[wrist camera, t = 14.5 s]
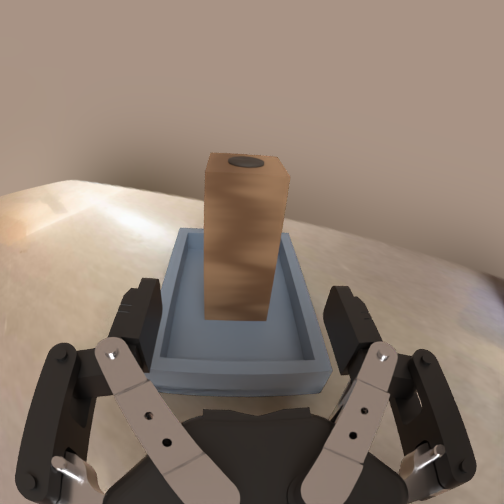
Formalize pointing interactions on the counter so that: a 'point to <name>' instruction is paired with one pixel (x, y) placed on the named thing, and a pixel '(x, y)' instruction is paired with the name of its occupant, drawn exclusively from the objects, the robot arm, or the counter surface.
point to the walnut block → (242, 234)
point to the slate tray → (236, 334)
